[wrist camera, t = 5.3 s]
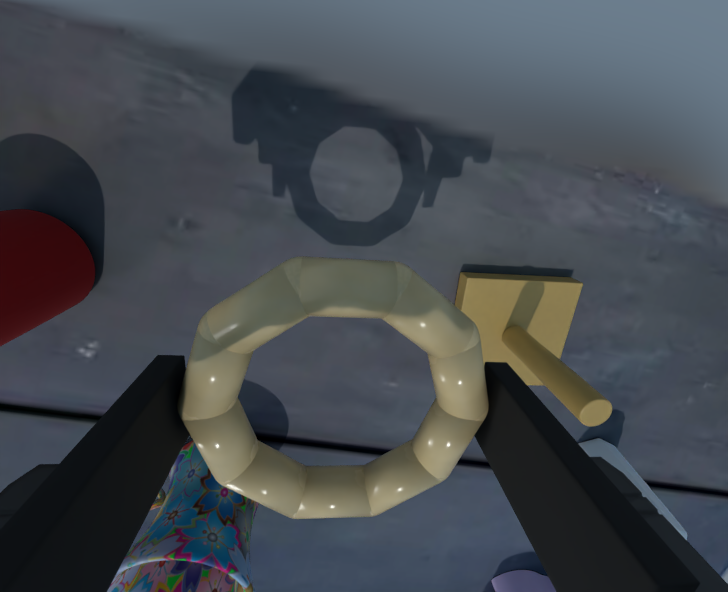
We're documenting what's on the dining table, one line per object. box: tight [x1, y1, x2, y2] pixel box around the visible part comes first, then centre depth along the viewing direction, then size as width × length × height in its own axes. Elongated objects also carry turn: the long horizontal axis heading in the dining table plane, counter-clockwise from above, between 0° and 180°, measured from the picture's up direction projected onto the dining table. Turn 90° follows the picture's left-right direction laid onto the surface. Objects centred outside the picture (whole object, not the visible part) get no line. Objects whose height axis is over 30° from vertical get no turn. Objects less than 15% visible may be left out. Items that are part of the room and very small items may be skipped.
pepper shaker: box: [578, 438, 687, 540], centre depth 29 cm, size 5×5×11 cm
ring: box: [177, 256, 489, 519], centre depth 11 cm, size 9×10×2 cm
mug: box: [107, 441, 259, 592], centre depth 25 cm, size 12×9×11 cm
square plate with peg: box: [455, 272, 612, 426], centre depth 23 cm, size 9×9×10 cm
